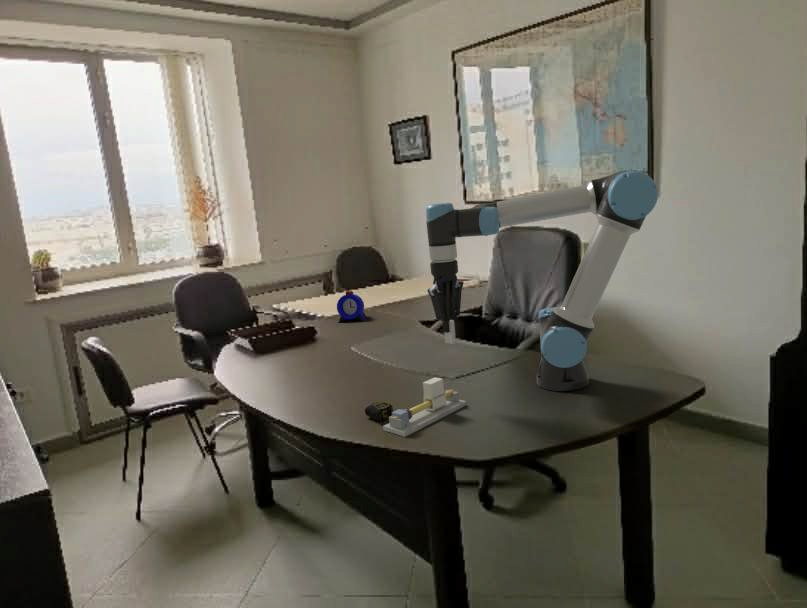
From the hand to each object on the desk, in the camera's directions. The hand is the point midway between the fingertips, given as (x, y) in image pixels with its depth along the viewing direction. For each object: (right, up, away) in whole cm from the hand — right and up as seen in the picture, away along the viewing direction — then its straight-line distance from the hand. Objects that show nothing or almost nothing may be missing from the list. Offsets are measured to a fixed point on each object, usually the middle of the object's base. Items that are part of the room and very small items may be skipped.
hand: (450, 342), depth 173 cm
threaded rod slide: (-7, -20, -5) cm, 22 cm away
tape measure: (-20, -21, -2) cm, 29 cm away
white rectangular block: (-4, -18, -3) cm, 19 cm away
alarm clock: (-38, +3, +127) cm, 133 cm away
